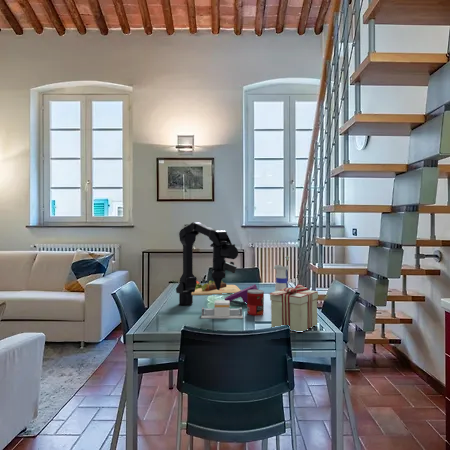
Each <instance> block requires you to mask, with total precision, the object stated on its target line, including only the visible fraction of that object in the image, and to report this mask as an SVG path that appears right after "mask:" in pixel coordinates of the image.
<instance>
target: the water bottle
mask: <svg viewBox="0 0 450 450" xmlns="http://www.w3.org/2000/svg"><path fill="white" fill-rule="evenodd" d="M284 259H285V261H289V260H290V259H291V258H290V256H288V255H286V256H285V258H284ZM272 269H275V270H276V274H275V278H276V279H275V284H274V285H275V286H274V287H275V288H274V292H275V291H278V290H280V289H284V288H289V283H288V279H289V275H288V272H289V271H290V268H289V265H286V266H283V265H282V264H275V265H274V267H273V268H272Z"/></svg>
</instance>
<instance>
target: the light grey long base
mask: <svg viewBox="0 0 450 450" xmlns="http://www.w3.org/2000/svg"><path fill="white" fill-rule="evenodd" d="M243 316H244V315H243V308H242V306H241V307H239V308H230V316H214V308H205V307H204V306H203V307H201V315H200V319H244V317H243Z"/></svg>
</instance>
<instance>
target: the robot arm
mask: <svg viewBox="0 0 450 450" xmlns="http://www.w3.org/2000/svg"><path fill="white" fill-rule="evenodd" d="M178 233H179V235H178V236H179V242H180V244H181V245H182V275H181V276H180V277H179V284H178V285H177V287H176V288H175V292H176V294H178V295H179V298H178V302H179V303H178V306H192V305H193V302H194V297H193V296H194V295H192V292H195V288H196V285H197V282H196V280H197V281H198V279H197V276H195V274H194V273H193V268H194V267H193V266H194V265H193V261H194V260H193V253H194V252H193V248H194V247H193V246H194V245H195V242H196V237H197V236H198V235H199V234H202V235H204V236H205V237H208V239H209V240H210V241H211V242H212V243H211V244H210V245H209V247H210V248H211V247H212V270H211V271H212V272H211V278H212V279H213V280H212V281H214V283H215V285H216V288H217V290H220V285H221V281H223V279H226V271H228V272H231V273H232V274H235V273H236V270H237V269H238V266H237V265H236V264H235V261H233V260H236V259H237V258H238V256H239V250H238V248H237V247H236V244H235V243H233V244H232V241H231V239H230V237H229V235H228V232H227V231H226V230H224V229H215V228H213V227H210V226H208V225H206V224H204V223H201V222H199V221H193V222H191V223H190V224H188V225H186V226H185V227H183V228H181V229H180V230H179V232H178ZM226 259H230V260H232V261H230V262H227V261H226Z"/></svg>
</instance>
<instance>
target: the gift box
mask: <svg viewBox="0 0 450 450" xmlns="http://www.w3.org/2000/svg"><path fill="white" fill-rule="evenodd" d="M269 299H270V305H271V307H270V313H271V315H270V317H271V318H270V320H271V323H270V324H271V328H272V327H275V326H281V325H289V326H290V329H291V330H296V331H304V330H307V329H309V328H311V327H313V326H315V325H317V326H318V299H319V292H318V291H317V290H310V289H309V288H307V287H305V286H303V285H302V284H296V286H295V287H293V286H292V287H290V286H288V288H284V289H280V290H278V291H275V290H274V291H272V292H270V293H269ZM315 327H316V326H315ZM313 328H314V327H313ZM311 329H312V328H311ZM309 330H310V329H309ZM307 331H308V330H307Z"/></svg>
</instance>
